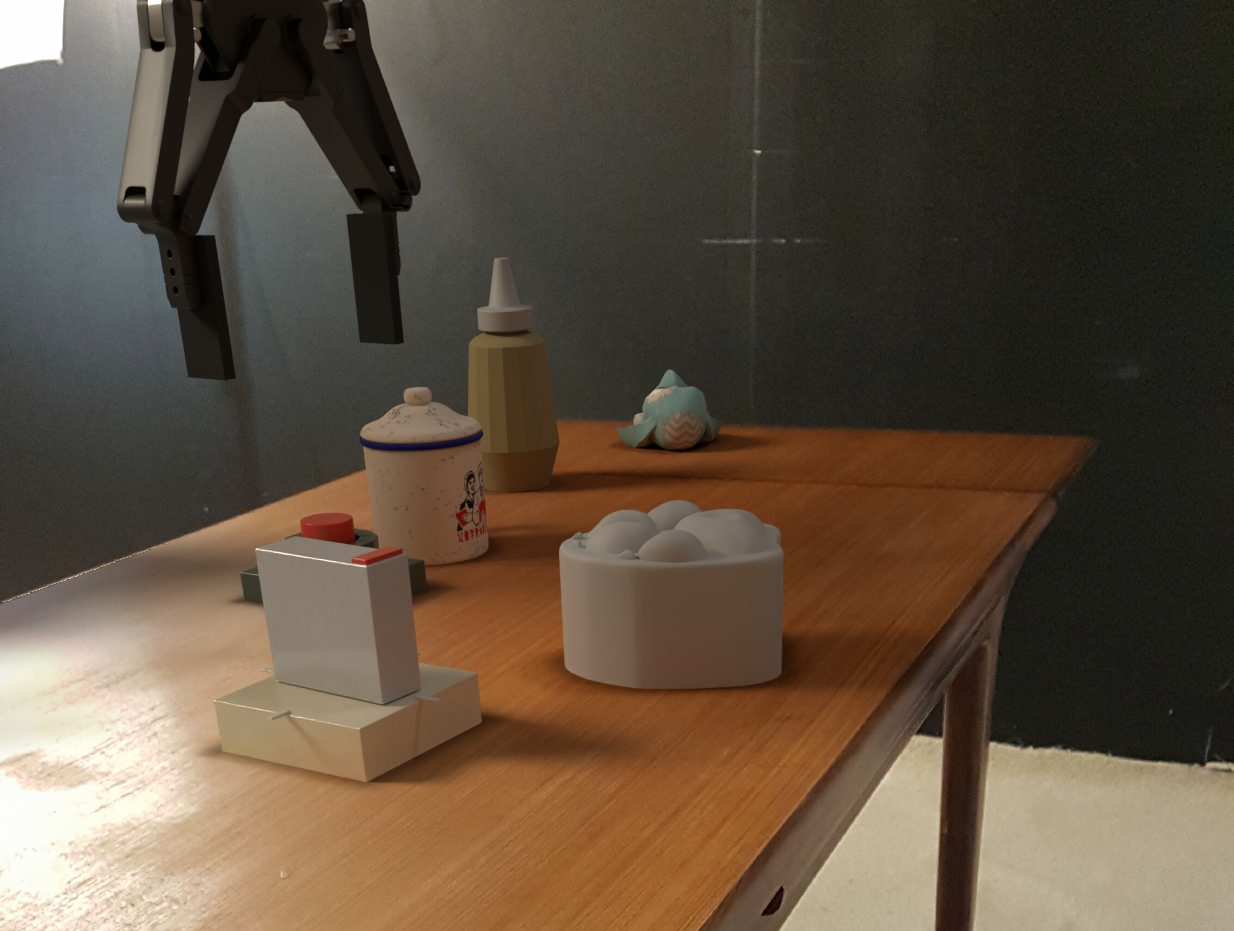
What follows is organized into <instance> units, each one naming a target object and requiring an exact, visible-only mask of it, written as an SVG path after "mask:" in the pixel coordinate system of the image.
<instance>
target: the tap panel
mask: <svg viewBox="0 0 1234 931" xmlns="http://www.w3.org/2000/svg"><path fill="white" fill-rule="evenodd" d="M417 652H418V657H419V656H421V652H420V651H417ZM259 671H260V672H261V673H267V674H272V675H270V676H269V677H266V678H264V679H262V680H259V681H257V682H254V683H252V684H250V685H247V686H245V687H243V688H240V689H238V690H236V691H232V692H230V693H228V694H225V695H223V696H221V697H219V698H216V699H214V700H213V704H214V711H215V716H216V722H217V728H218V732H219V738H220V739H219V740H220V744H221V745H220V746H221V750H222V752H225V753H229V754H233V755H239V756H242V757H248V758H253V759H257V760H262V761H266V762H271V763H275V764H281V765H285V766H289V767H294V768H299V769H304V770H307V771H313V772H317V773H323V774H327V775H331V776H336V777H339V778H340V777H341V778H344V779H350V780H354V781H358V782H359V781H360V782H364V783H368V782H370V781H372V780H373V779H376V778H377V777H380V776H381V775H383V774H386V773H387V772H389V771H391V770H393V769H395V768H397V767H399V766H400V765H402V764H405V763H407V762H409V761H411V760H412V759H414V758H416V757H419V756H420V755H421V754H424V753H426V752H427V751H429V750H431V749H434V748H435V747H437V746H439V745H441V744H443V743H445V742H447V741H450V739H452V738H454V737H457V736H458V735H460V734H462V733H464V732H466V731H468V730H470V729H472V728H474V727H475V726H478V725H479V724H481V723H483V722H482V708H481V697H480V696H481V695H480V685H479V672H476V671H472V670H471V671H470V670H466V669H465V670H464V669H459V668H453V667H447V666H441V665H435V664H429V663H424V662H423V663H422V662H419V671H420V681H421V689H419V690H417V691H415V692H412V693H410V694H407V695H405V696H403V697H400V698H398V699H396V700H393V701H391V702H388V703H386V704H384V705H383V704H378V703H373V702H369V701H365V700H360V699H356V698H351V697H347V696H342V695H338V694H333V693H329V692H324V691H320V690H315V689H311V688H306V687H302V686H297V685H293V684H288V683H284V682H279V681H276V680H275V676H274V670H273V667H267V666H262V667H261V668H259Z"/></svg>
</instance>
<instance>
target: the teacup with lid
mask: <svg viewBox="0 0 1234 931" xmlns="http://www.w3.org/2000/svg"><path fill="white" fill-rule="evenodd" d="M432 399H433V396H432V391H431V390H430V388H429V387H426V386H414V387H413V386H412V387H408V388H406V389H404V392H403V400H404V403H400V404H398V405H396V406H394V407H392V408H391V409H390V410H388V411H387V413H385V414H384V415H383V416H382V417H380V418H379V419H376V420H373V421H371V422H369V423H367V424H365V425H364V426H362V429H361V430H360V436H359V438H358V442H359V444H360V445H361V446H362V447H363V456H364V464H365V473H366V482H367V483H366V484H367V491H368V499H369V508H370V516H371V526H372V532H373V533H375V534H376V535H378V542H379V549H381V548H384V547H387V546H389V547H396V548H402V550H403V553H406V554H407V556H408V558H411V559H419V560H424V563H425V567H426V566H440V565H448V564H449V565H450V564H455V563H462V562H465V561H470V560H472V559H476V558H478V557H481V556H483V555H484V554H485V553H487V551H488V550H489V545H490V544H489V533H488V532H489V531H488V519H487V506H486V505H487V504H486V493H485V489H484V478H483V465H482V452H481V438H482V437H483V431H482V429H481V425H480V424H479V422H478V421H477V420H475V419H474V418H471V417H468V415H463V414H461V413H458V412H456V411H454V410H453V409H451V408H450V407H448V406H447V405H445V404H443V403H440V402H437V401H432Z"/></svg>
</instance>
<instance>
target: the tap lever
mask: <svg viewBox="0 0 1234 931" xmlns="http://www.w3.org/2000/svg"><path fill="white" fill-rule="evenodd" d="M284 539H285V538H284ZM284 539H282V540H278V541H275V542H271V543H268V544H265V545H261V546H258V547H255V548H254V553H255V559H256V566H258V572H259V579H260V585H261V592H262V598H263V604H262V605H263V611H264V617H265V623H266V630H267V636H268V644H269V650H270V656H271V662H272V668H273V670H274V674H273V675H274V676H275V680H276V681H279V682H284V683H288V684H293V685H297V686H302V687H306V688H311V689H315V690H320V691H324V692H329V693H333V694H338V695H342V696H347V697H351V698H356V699H360V700H365V701H369V702H373V703H378V704H383V705H384V704H386V703H388V702H391V701H393V700H396V699H398V698H400V697H403V696H405V695H407V694H410V693H412V692H415V691H417V690H419V689H421V681H420V671H419V663H420V662H419V656H418V652H419V651H418V644H417V634H416V624H415V615H414V606H413V605H414V604H413V595H412V594H411V585H410V575H409V565H408V556H407V554H406V553H403V550H402V548H396V547H389V546H387V547H384V548H381V549H375V548H368V547H362V546H355V545H349V544H343V543H336V542H330V541H323V540H317V539H310V538H304V537H298V536H295V537H291V538H288V539H285V540H284Z"/></svg>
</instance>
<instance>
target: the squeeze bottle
mask: <svg viewBox="0 0 1234 931" xmlns="http://www.w3.org/2000/svg"><path fill="white" fill-rule="evenodd" d="M493 259H494V260H493V268H492V276H491V284H490V292H489V300H488V305H486V306H481V307H479V308H477V311H476V313H477V323H478V324H477V326H478V330H479V331H480V332H483V333H480V334H478V335H475V337H473V338H472V339H471V341H469V343H468V383H467V384H468V386H467V387H468V388H467V391H468V394H467V397H468V398H467V399H468V400H467V417H471V418H474V419H475V420H477V421H478V422H479V424H480V425H481V429H482V431H483V437H482V438H481V452H482V465H483V478H484V490H487V491H489V492H497V493H525V492H531V491H537V490H541V489H543V488H547V486H549V485H550V483H551V478H552V475H553V471H554V467H555V463H556V459H557V454H558V452H559V447H560V437H559V430H558V423H557V416H556V408H555V402H554V395H553V389H552V387H553V386H552V380H551V374H550V367H549V366H550V365H549V360H548V352H547V346H546V341H545V339H544V338H543V337H542V336H540V334H538V333H536V332H534V331H531V329H533V328H534V315H533V314H534V313H533V307H532V305H528V304H521V303H520V299H519V295H518V291H517V287H516V282H515V278H514V274H513V271H512V267H511V263H510V259H509V257H495V258H493Z"/></svg>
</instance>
